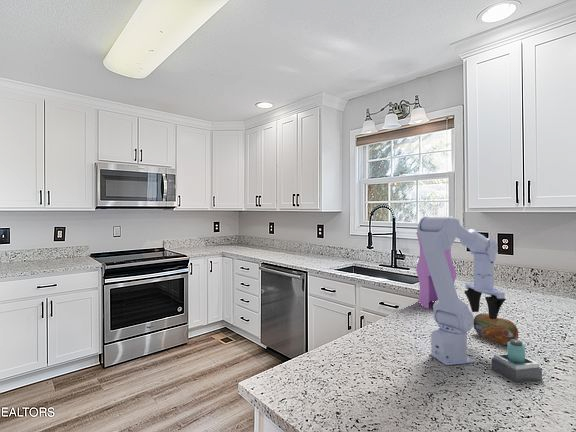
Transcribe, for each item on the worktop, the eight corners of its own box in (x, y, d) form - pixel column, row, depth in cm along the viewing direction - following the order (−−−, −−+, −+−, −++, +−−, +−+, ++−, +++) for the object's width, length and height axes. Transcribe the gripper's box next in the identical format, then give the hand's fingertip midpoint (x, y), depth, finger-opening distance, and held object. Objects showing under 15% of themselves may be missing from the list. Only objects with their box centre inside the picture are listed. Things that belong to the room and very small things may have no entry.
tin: (472, 333, 120) (472, 310, 120) (479, 332, 121) (478, 309, 121) (513, 349, 106) (513, 323, 106) (520, 347, 107) (520, 322, 107)
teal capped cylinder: (517, 367, 87) (516, 344, 87) (503, 360, 91) (503, 339, 91) (529, 365, 88) (529, 343, 88) (515, 359, 91) (515, 337, 91)
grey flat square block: (516, 382, 84) (516, 366, 84) (491, 368, 92) (491, 353, 92) (542, 379, 86) (541, 364, 86) (515, 366, 94) (515, 351, 94)
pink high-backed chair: (444, 301, 164) (444, 232, 163) (456, 309, 150) (455, 233, 150) (416, 301, 165) (416, 232, 165) (425, 308, 151) (424, 233, 151)
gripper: (512, 277, 101) (513, 321, 101) (477, 270, 116) (477, 308, 116) (493, 278, 100) (493, 322, 100) (460, 270, 114) (460, 309, 114)
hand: (483, 315), depth 108 cm, fingers open, 7 cm apart
